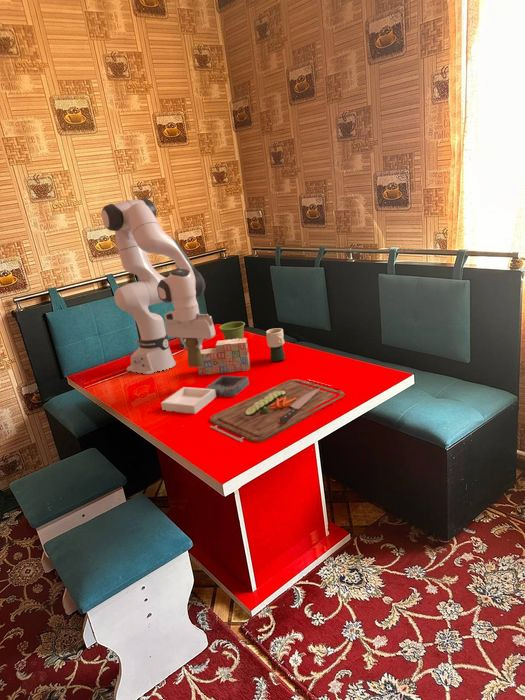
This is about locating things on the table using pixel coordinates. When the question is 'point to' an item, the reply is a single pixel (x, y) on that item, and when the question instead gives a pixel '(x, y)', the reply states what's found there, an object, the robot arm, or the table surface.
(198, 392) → the tray
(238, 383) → the grey square shallow box
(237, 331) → the plant pot
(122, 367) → the table surface
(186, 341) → the cork
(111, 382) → the table surface
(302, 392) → the chopping board
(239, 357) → the stack of blocks
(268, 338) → the character mug
